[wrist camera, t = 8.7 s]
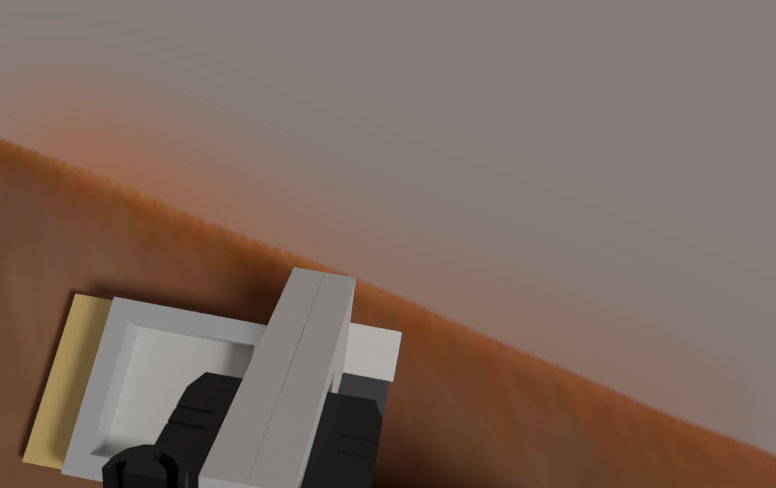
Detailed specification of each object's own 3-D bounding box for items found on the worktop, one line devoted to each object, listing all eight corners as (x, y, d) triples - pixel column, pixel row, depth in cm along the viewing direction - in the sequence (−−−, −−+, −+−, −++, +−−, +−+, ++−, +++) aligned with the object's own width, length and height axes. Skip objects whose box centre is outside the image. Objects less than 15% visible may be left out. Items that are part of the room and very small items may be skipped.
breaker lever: (271, 612, 26) (330, 319, 28) (279, 595, 28) (334, 322, 30) (354, 628, 26) (407, 333, 28) (357, 610, 28) (406, 336, 30)
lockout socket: (27, 461, 32) (5, 462, 30) (79, 295, 34) (62, 287, 32) (247, 504, 32) (239, 508, 30) (286, 334, 34) (281, 328, 32)
